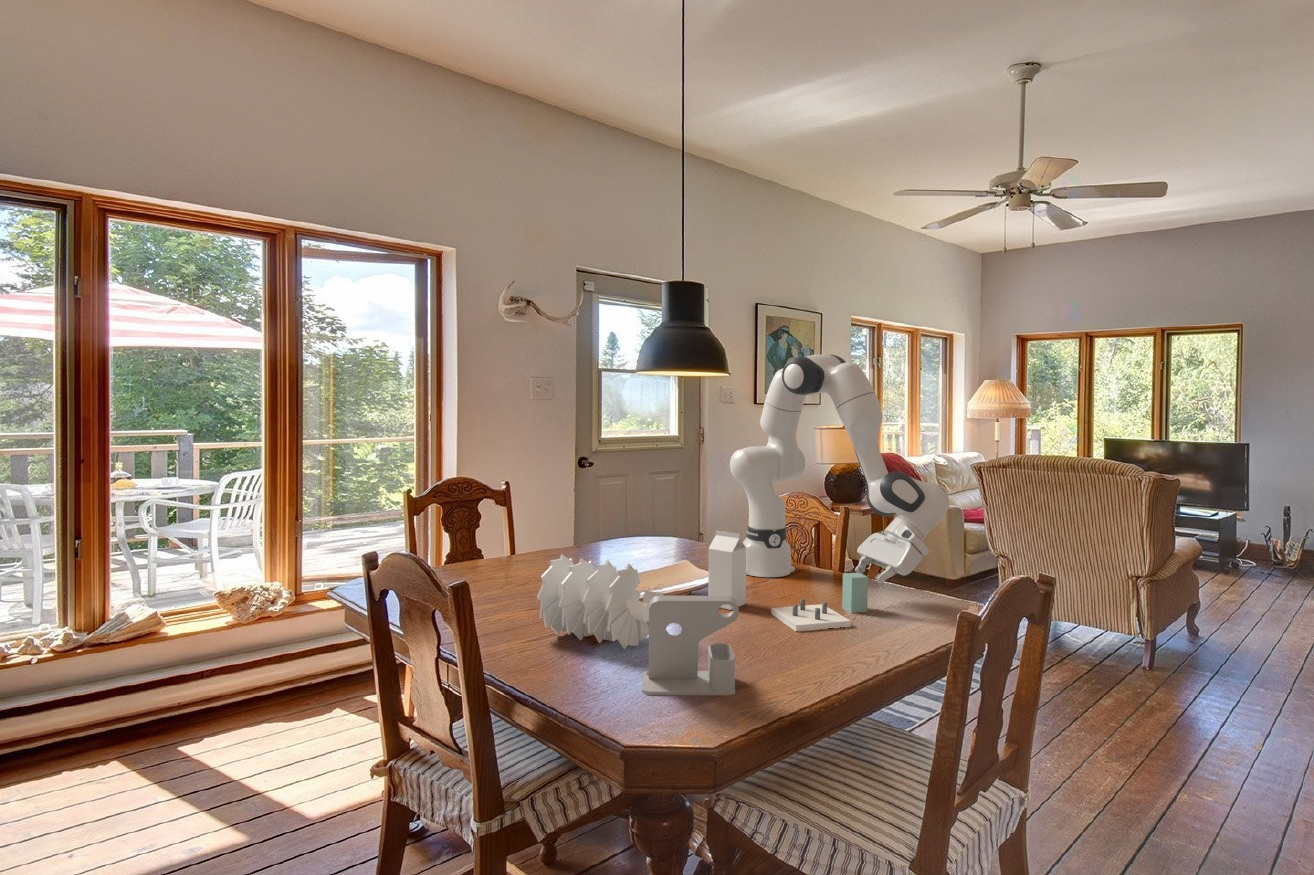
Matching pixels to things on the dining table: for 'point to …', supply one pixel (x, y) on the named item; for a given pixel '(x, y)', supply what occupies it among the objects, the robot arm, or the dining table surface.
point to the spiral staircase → (595, 601)
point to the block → (855, 592)
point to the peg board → (810, 617)
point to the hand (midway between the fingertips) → (867, 577)
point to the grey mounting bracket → (688, 647)
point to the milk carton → (727, 568)
